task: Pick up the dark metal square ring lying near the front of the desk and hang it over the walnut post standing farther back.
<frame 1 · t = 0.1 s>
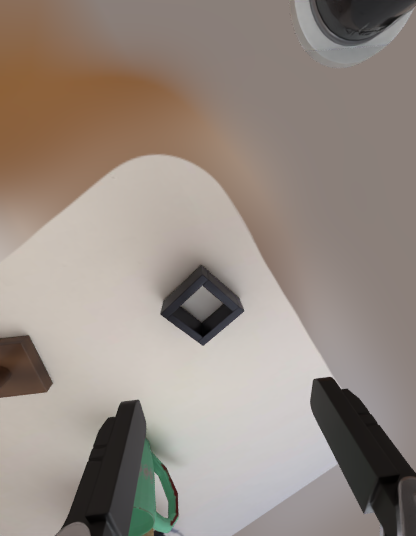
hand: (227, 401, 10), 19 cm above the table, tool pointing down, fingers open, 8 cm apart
post: (9, 364, 31), on the table
ring: (201, 299, 30), on the table
mug: (147, 447, 41), on the table
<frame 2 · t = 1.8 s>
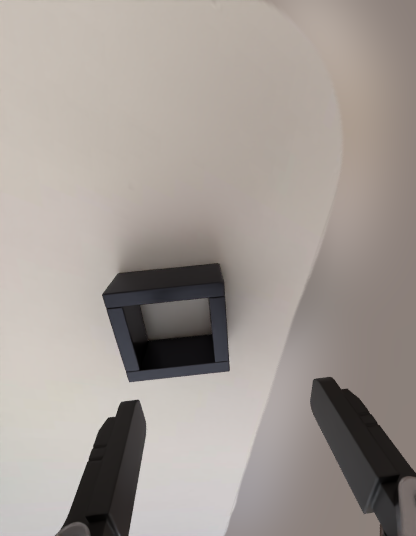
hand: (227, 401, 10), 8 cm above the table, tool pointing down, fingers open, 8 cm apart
ring: (175, 310, 17), on the table
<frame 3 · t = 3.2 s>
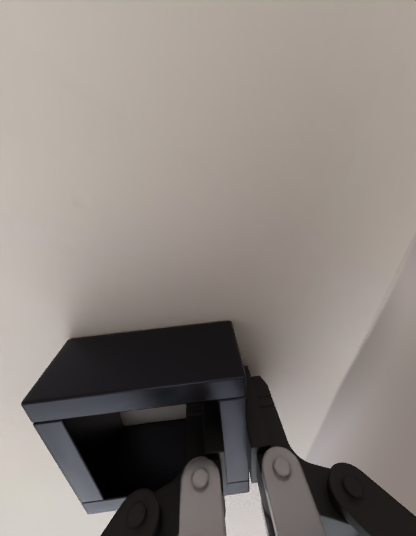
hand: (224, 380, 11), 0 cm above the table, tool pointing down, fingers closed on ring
ring: (163, 387, 11), on the table, touching gripper
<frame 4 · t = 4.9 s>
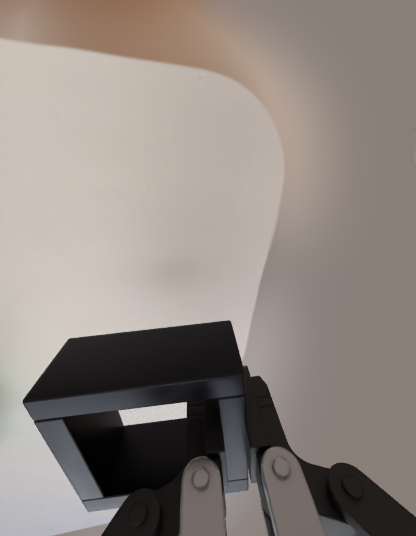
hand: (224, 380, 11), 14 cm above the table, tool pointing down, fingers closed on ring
ring: (163, 385, 11), point 14 cm above the table, touching gripper
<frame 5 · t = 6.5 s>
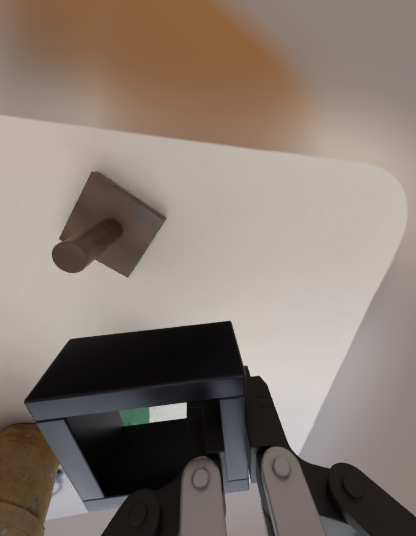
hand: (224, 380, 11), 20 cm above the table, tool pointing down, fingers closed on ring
post: (115, 227, 28), on the table
potted plant: (33, 440, 43), on the table
ring: (164, 386, 11), point 20 cm above the table, touching gripper
mug: (134, 384, 38), on the table
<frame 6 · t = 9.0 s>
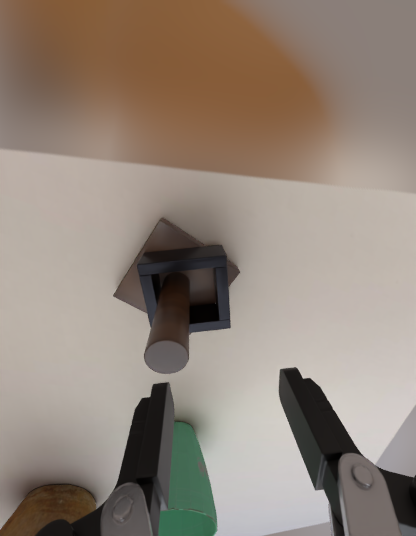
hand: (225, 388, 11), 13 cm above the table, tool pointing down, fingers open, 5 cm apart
post: (177, 277, 23), on the table
potted plant: (62, 499, 38), on the table
ring: (187, 283, 22), point 1 cm above the table, touching post
mug: (180, 440, 34), on the table
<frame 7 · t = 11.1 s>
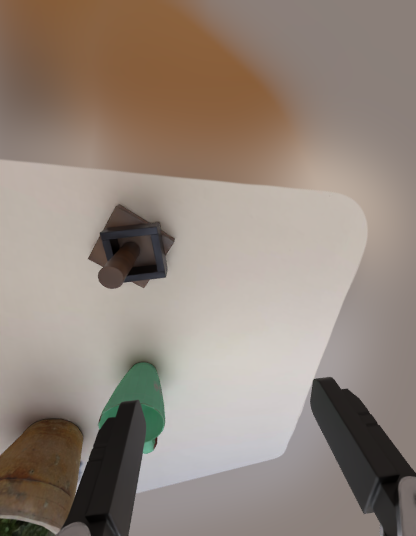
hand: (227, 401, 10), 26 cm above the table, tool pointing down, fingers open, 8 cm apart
post: (133, 247, 34), on the table
potted plant: (56, 434, 48), on the table
ring: (138, 249, 32), point 1 cm above the table, touching post
mug: (147, 379, 44), on the table
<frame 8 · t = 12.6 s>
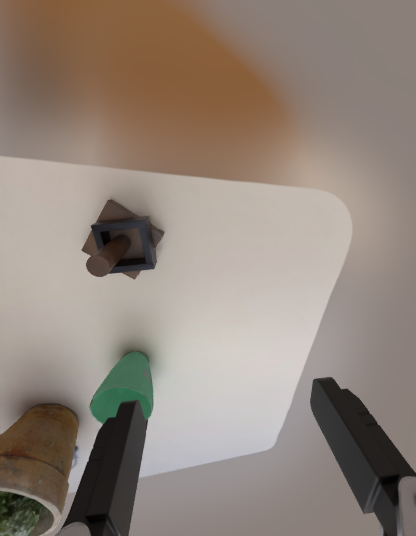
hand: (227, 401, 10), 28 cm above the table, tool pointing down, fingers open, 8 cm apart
post: (124, 240, 35), on the table
potted plant: (53, 419, 50), on the table
ring: (129, 242, 34), point 1 cm above the table, touching post
mug: (139, 368, 46), on the table
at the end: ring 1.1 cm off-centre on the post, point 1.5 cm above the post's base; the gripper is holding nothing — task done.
